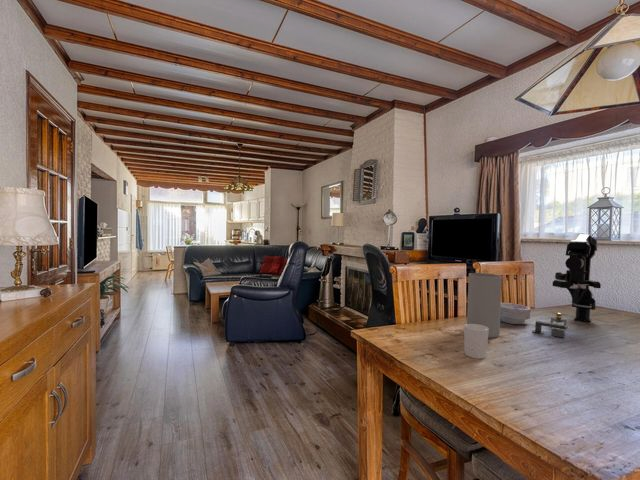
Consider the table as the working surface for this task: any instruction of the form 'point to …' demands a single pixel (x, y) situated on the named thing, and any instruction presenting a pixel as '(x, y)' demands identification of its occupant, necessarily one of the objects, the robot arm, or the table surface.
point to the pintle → (559, 316)
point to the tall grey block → (485, 301)
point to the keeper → (540, 324)
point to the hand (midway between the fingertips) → (575, 303)
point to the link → (556, 330)
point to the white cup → (475, 340)
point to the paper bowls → (514, 313)
